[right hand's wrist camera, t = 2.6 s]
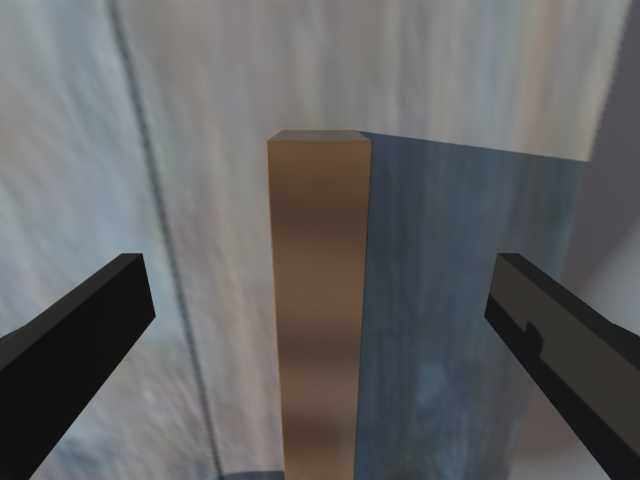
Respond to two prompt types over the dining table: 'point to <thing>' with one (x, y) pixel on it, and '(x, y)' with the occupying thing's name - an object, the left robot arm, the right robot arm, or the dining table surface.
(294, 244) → the beam
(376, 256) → the dining table surface
